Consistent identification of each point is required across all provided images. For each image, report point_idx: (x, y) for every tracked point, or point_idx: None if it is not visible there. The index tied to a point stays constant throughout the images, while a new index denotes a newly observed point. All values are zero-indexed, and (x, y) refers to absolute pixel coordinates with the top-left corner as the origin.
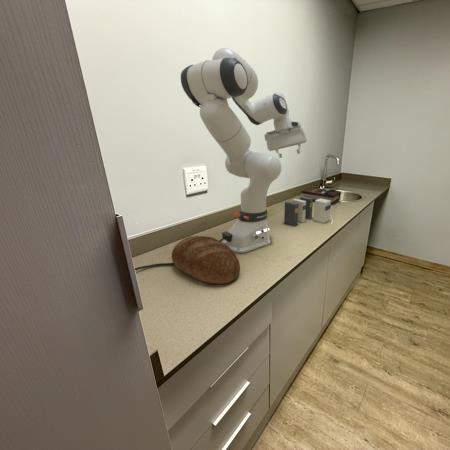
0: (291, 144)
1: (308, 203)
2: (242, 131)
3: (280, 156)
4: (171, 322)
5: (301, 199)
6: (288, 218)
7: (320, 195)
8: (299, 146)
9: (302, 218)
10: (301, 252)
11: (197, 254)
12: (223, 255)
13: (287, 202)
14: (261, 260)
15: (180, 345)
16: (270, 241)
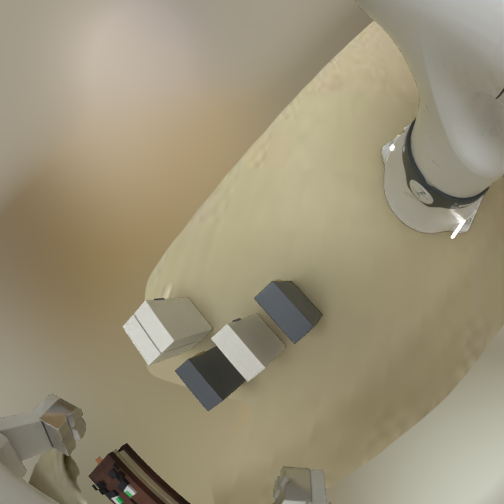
0: (56, 502)
1: (202, 361)
2: None
3: (304, 472)
4: None
5: (221, 392)
6: (307, 302)
7: (142, 484)
8: (6, 424)
9: (251, 315)
10: (305, 103)
11: None
12: None
13: (301, 323)
14: (394, 81)
15: None
16: (382, 149)
